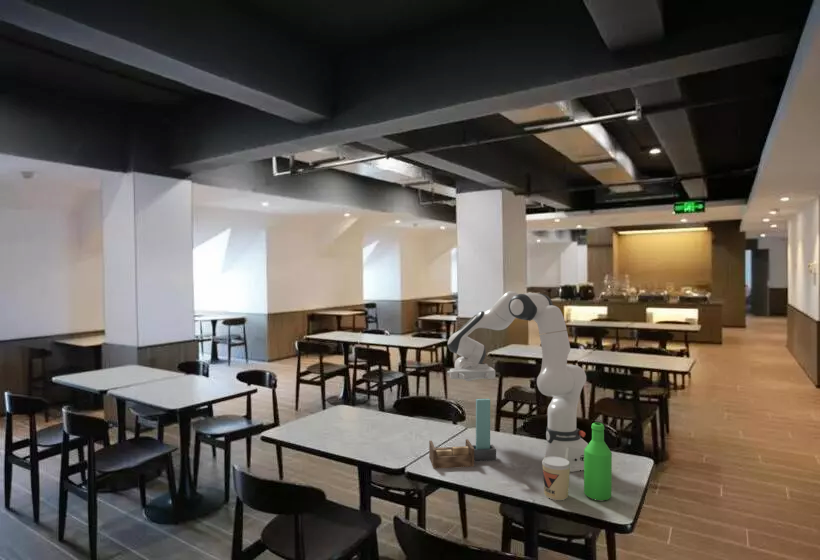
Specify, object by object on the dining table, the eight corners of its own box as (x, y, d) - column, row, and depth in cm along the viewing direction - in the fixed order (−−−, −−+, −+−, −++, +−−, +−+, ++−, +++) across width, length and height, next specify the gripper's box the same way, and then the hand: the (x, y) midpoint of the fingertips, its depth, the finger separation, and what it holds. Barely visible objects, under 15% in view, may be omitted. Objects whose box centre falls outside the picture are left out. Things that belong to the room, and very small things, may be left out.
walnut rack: (467, 459, 201) (467, 439, 201) (474, 470, 190) (474, 448, 190) (429, 461, 200) (429, 440, 200) (433, 472, 189) (433, 450, 189)
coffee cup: (536, 492, 171) (536, 458, 171) (557, 487, 175) (557, 454, 175) (554, 504, 163) (554, 468, 163) (576, 498, 167) (576, 463, 166)
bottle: (586, 488, 174) (587, 418, 174) (613, 494, 170) (613, 422, 170) (581, 498, 167) (582, 425, 166) (608, 504, 162) (609, 429, 162)
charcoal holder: (492, 459, 202) (492, 444, 202) (496, 464, 197) (496, 449, 197) (469, 459, 201) (469, 445, 201) (473, 465, 196) (473, 450, 196)
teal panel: (489, 457, 200) (489, 398, 200) (490, 458, 198) (490, 399, 198) (475, 457, 200) (475, 399, 199) (476, 459, 198) (476, 400, 197)
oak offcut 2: (467, 462, 195) (467, 446, 194) (468, 464, 193) (468, 447, 193) (452, 463, 194) (452, 446, 194) (453, 464, 192) (453, 448, 192)
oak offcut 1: (451, 463, 194) (451, 449, 194) (451, 464, 192) (451, 451, 192) (436, 463, 193) (436, 449, 193) (436, 465, 191) (436, 451, 191)
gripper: (446, 364, 223) (452, 370, 209) (490, 363, 225) (498, 369, 212) (446, 378, 223) (452, 385, 209) (490, 377, 225) (498, 384, 212)
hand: (475, 377), depth 211 cm, fingers open, 8 cm apart
